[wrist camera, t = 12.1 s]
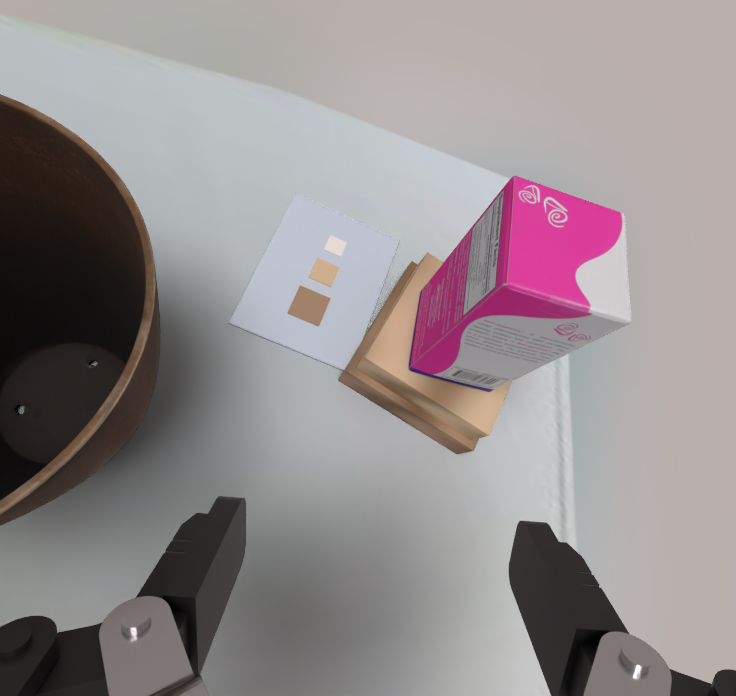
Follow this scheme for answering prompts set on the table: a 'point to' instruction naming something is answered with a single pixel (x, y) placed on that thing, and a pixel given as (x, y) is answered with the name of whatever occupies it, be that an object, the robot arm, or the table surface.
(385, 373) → the base block
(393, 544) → the table surface
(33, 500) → the plant pot
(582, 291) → the supplement box
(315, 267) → the page
